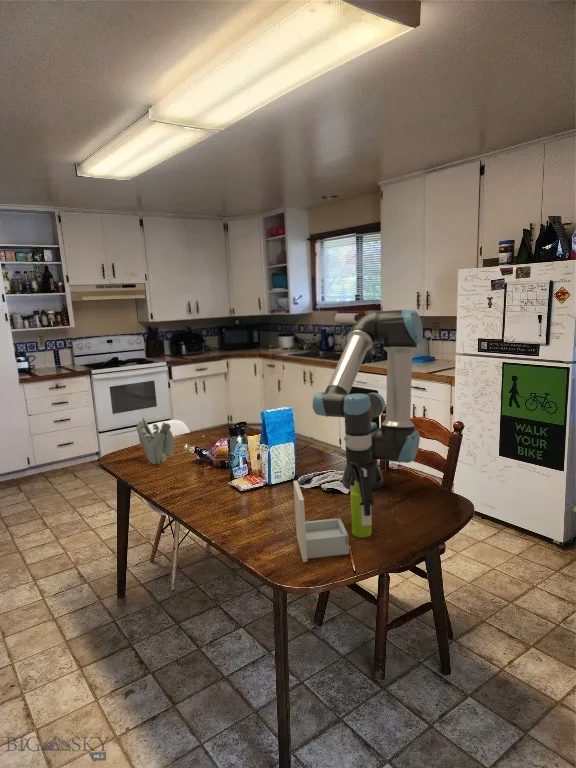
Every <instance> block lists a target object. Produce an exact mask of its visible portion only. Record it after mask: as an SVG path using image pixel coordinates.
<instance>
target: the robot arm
mask: <svg viewBox="0 0 576 768" xmlns="http://www.w3.org/2000/svg"><path fill="white" fill-rule="evenodd" d="M423 335H424V330H423V324H422V320H421V317H420V315H419V313H418V312H417V311H416V310H412V309H399V310H398V309H396V310H376V311H372V312H369V313H366V314H365V315H363V316H362V317H361V318H359V319H358V320H357V321H356V322H355V323H354V324H353V325H352V327H351V328H350V330H349V332H348V334H347V336H346V345H345V347H344V349H343V351H342V353H341V356H340V358H339V360H338V362H337V365H336V367H335V369H334V372H333V373H332V376H331V378H330V380H329V383H328V385H327V386H326V389H325V391H324V392H323V391H321V392H317V393H315V394H314V396H313V397H312V410H313V412H314V414H315V415H316V416H323V417H326V418H327V417H328V418H329V417H333V418H344V431H345V435H344V436H343V440H344V442H345V458H346V462H345V463H346V465H345V468H344V471H343V475H342V486H343V487H345V488H346V489H348V490H350V496H351V491H352V490H353V489H355V485H354V481H355V480H356V481H357V482H358V483H359V489H360V494H361V499H362V503H360V505H361V514H362V526H366V525H372V521H373V520H372V506H373V505H374V497H373V490H377V489H380V488H381V487H383V484H384V477H383V474H382V472H381V469H380V467H379V463H378V460H379V461H389V462H394V463H396V462H397V463H400V464H401V463H407V464H409V463H411V462H414V460H415V458H416V456H417V454H418V451H419V447H420V441H421V439H420V438H421V437H420V432H419V431H418V430H416V429H415V428H416V427H415V424H414V423H413V421H412V420H411V410H412V409H411V408H412V407H411V406H412V374H413V373H412V372H413V371H412V370H413V353H414V352H415V351H416V350H417V347H418V344H421V343H422V341H423ZM374 344H383V349H384V350H385V351H386V353H387V364H386V365H387V368H386V400H385V398H384V397H383V396H382V395H381V394H380V393H377V392H369V393H350V392H351V390H352V389H353V388H352V387H353V385H354V382H355V380H356V378H357V376H358V373H359V371H360V369H361V366H362V363H363V361H364V359H365V356H366V355H367V351H369V350H370V349H372V347H373V345H374ZM384 411H385V420H383V422H382V423H381V427H378V425H377V423H376V422H373V420H376V419H377V418H378V417H380V416H381V414H382V413H384Z"/></svg>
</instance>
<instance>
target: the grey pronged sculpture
mask: <svg viewBox="0 0 576 768" xmlns="http://www.w3.org/2000/svg"><path fill="white" fill-rule="evenodd" d="M135 428H136V431H137V434H138V439H139V446H140V447H142V448H143V450H144V454H145V456H146V458H147V462H149V463H150V464H152V465H160V464H163V462H166V461H167V455H170V456H173V457H174V456H175V447H174V439H173V432H172V431H171V424H170V423H168V422H166V423H165V421H163V422H162V424H161V427H159V426H158V424H157V423H154V424H152V429H153V430H154V431H153V432H152V431H151V428H150V426H149V424H148V422H147V420H146V419H145V418H144V417H142V420H141V421H139V423H138V424H137V425H136V427H135Z"/></svg>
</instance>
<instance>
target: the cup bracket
mask: <svg viewBox="0 0 576 768" xmlns="http://www.w3.org/2000/svg"><path fill="white" fill-rule="evenodd" d="M292 484H293V495H294V496H293V497H294V511H295V527H296V528H295V529H296V530H295V531H296V539H297V543H298V548H299V551H300V555H301V558H302V562H303V563H306V562H308V559H314V558H315V559H316V558H324V557H333V556H343V555H349V554H350V541H349V539H350V538H349V534H348V531H347V530H346V528H345V525H344V523H343V521H342V519H341V518H340V517H337V518H328V519H327V518H326V519H319V520H311V521H310V520H309V521H306V515H305V514H306V513H305V510H306V509H305V498H304V496H303V494H302V490H301V487H300V484H299V482H298V480H293V483H292Z"/></svg>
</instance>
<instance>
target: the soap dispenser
mask: <svg viewBox="0 0 576 768" xmlns="http://www.w3.org/2000/svg"><path fill="white" fill-rule="evenodd" d="M354 485H355V489H353V490H352V491H351V495H350V508H351V509H350V512H351V513H350V514H351V533H352V535H353V536H354V537H357V538H360V539H361V538H362V539H364V538H369V537H370V536H371V535H373V534H372V533H373V531H372V530H373V528H372V527H373V526H372V525H366V526H362V514H361V505H360V503H362V499H361V494H360V489H359V483H358V482H357V481H356V480H355V481H354Z"/></svg>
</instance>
